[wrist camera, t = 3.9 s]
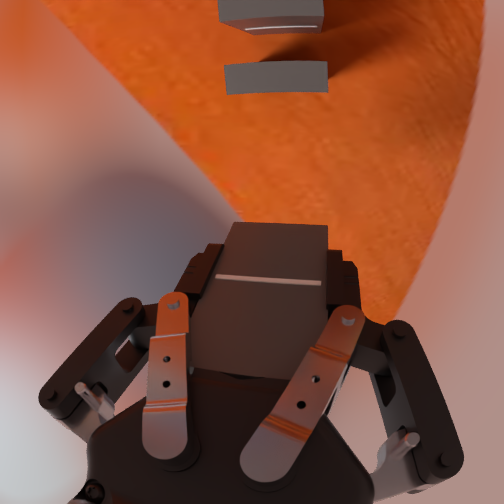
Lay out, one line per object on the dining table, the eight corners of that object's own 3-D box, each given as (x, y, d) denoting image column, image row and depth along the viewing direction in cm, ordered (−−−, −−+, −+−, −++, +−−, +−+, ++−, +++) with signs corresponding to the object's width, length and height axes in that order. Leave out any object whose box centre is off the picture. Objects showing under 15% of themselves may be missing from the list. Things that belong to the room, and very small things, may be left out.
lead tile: (234, 221, 17) (171, 362, 10) (327, 224, 16) (324, 381, 8) (237, 246, 18) (183, 386, 10) (326, 251, 17) (319, 404, 10)
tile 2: (256, 62, 20) (223, 64, 13) (322, 61, 19) (327, 60, 12) (258, 82, 21) (226, 95, 14) (323, 82, 20) (328, 93, 13)
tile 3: (252, 16, 18) (217, -7, 11) (319, 14, 17) (321, -14, 10) (254, 35, 19) (219, 22, 12) (320, 33, 18) (324, 16, 11)
